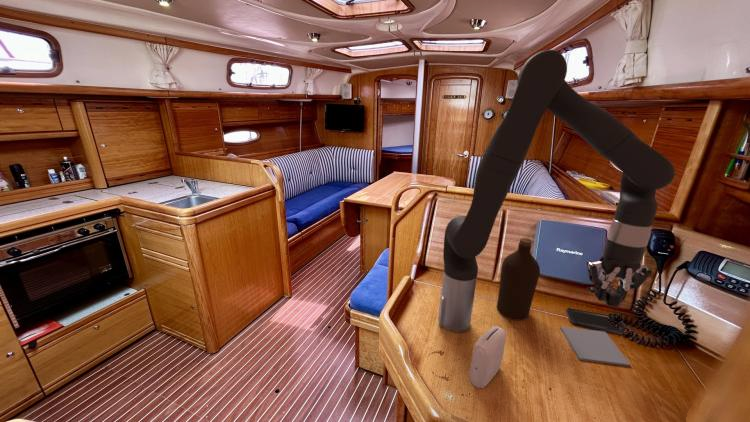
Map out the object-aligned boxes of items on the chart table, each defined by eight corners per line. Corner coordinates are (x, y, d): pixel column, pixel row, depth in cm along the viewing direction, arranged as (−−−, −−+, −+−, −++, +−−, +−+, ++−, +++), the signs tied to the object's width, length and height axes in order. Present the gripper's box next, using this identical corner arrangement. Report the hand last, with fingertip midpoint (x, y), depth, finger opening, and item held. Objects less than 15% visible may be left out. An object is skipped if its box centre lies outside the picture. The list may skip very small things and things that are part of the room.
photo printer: (482, 392, 69) (490, 350, 65) (466, 380, 72) (472, 339, 68) (502, 367, 76) (510, 327, 72) (486, 357, 79) (493, 318, 75)
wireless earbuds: (605, 291, 82) (608, 281, 81) (620, 308, 76) (623, 297, 74) (586, 290, 83) (589, 279, 82) (599, 306, 76) (602, 295, 75)
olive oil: (520, 326, 90) (536, 251, 82) (488, 309, 98) (499, 238, 90) (536, 312, 96) (552, 241, 88) (505, 296, 104) (517, 230, 96)
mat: (578, 359, 79) (579, 357, 78) (560, 328, 90) (560, 326, 90) (630, 366, 77) (630, 364, 76) (604, 333, 88) (605, 331, 88)
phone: (565, 307, 98) (620, 317, 94) (564, 310, 98) (619, 320, 94) (571, 322, 91) (631, 334, 86) (570, 325, 91) (630, 337, 87)
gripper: (650, 234, 74) (630, 294, 80) (586, 230, 77) (572, 288, 82) (672, 248, 67) (649, 312, 73) (602, 243, 70) (585, 305, 75)
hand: (608, 299), depth 78 cm, fingers closed on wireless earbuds, 3 cm apart
